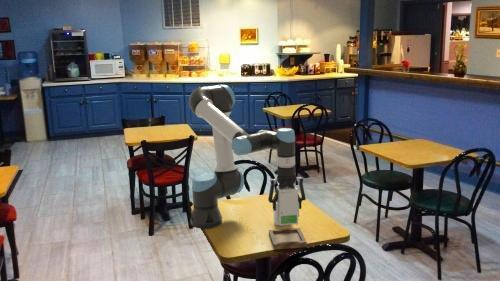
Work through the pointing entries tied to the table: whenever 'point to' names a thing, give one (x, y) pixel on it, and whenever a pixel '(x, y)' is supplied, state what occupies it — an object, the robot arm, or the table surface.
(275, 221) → the jar
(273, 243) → the brown wooden tray
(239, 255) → the table surface
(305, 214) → the table surface
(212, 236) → the table surface
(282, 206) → the skincare box
